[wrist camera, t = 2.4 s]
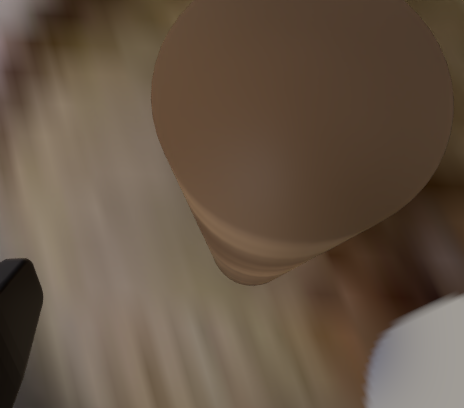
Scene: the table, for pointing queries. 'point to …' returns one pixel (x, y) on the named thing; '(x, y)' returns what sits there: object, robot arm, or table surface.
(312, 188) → the walnut pin
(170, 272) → the table surface
